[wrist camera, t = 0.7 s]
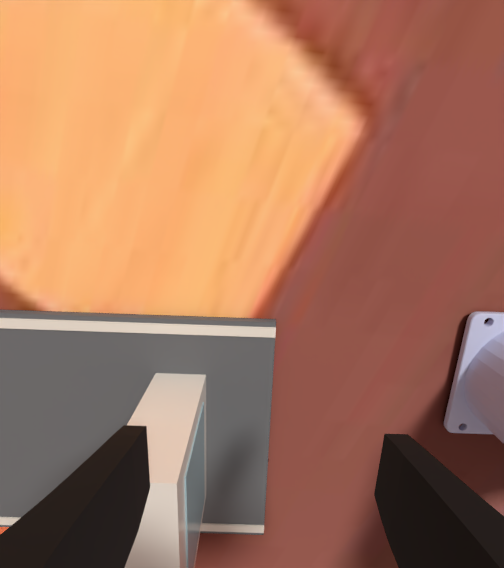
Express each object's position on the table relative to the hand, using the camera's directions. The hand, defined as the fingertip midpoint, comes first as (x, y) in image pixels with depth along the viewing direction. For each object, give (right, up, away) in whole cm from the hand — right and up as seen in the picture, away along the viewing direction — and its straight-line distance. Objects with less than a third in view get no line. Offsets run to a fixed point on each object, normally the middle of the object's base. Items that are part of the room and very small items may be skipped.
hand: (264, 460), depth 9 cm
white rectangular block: (-5, -5, +12) cm, 14 cm away
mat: (-9, -5, +12) cm, 16 cm away
